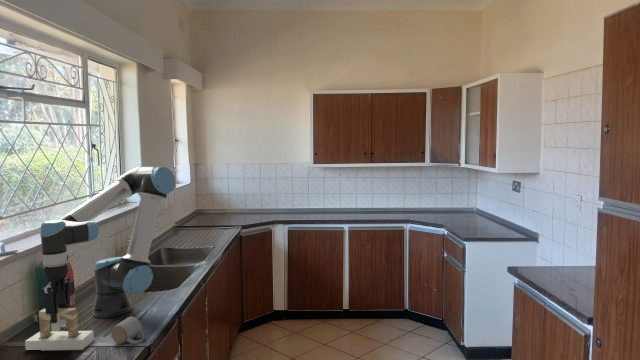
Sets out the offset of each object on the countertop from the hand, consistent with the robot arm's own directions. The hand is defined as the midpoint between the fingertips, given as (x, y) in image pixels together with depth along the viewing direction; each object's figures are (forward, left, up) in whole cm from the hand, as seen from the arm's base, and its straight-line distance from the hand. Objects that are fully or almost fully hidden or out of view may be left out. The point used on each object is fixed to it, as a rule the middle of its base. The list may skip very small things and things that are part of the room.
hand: (59, 328), depth 162 cm
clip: (0, 0, -4) cm, 4 cm away
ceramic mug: (-23, +6, -6) cm, 25 cm away
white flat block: (0, 0, -6) cm, 6 cm away
